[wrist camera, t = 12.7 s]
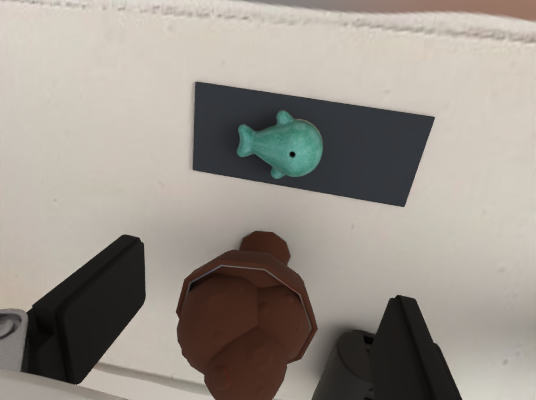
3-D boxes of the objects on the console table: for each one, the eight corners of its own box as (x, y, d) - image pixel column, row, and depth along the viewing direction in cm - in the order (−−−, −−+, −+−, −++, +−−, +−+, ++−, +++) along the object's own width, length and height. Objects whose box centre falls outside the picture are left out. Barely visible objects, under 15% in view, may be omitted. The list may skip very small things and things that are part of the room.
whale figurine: (315, 180, 28) (315, 195, 24) (237, 167, 28) (226, 180, 25) (328, 115, 25) (330, 121, 22) (243, 102, 26) (232, 106, 22)
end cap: (334, 319, 34) (338, 374, 27) (397, 337, 33) (415, 396, 27) (310, 377, 38) (309, 436, 32) (366, 393, 37) (375, 456, 31)
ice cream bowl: (332, 227, 29) (345, 361, 16) (293, 308, 34) (276, 466, 20) (230, 190, 30) (155, 290, 16) (205, 276, 34) (129, 411, 20)
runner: (433, 116, 24) (435, 117, 24) (403, 205, 27) (404, 207, 27) (196, 81, 26) (195, 81, 26) (193, 169, 29) (192, 170, 29)
